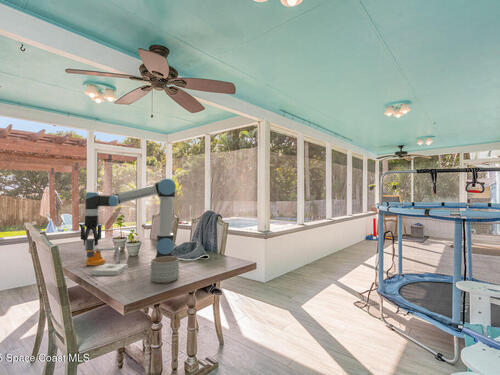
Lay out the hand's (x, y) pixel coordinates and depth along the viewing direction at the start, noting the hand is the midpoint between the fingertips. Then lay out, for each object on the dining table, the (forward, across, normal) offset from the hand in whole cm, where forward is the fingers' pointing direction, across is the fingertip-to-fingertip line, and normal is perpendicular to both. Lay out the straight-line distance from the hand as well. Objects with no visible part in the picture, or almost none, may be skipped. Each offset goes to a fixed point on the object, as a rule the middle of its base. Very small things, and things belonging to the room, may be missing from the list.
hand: (90, 250), depth 176 cm
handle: (+15, -5, -12) cm, 20 cm away
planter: (+16, -53, +12) cm, 57 cm away
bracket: (+16, +9, -23) cm, 29 cm away
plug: (+4, 0, 0) cm, 4 cm away
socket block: (+16, -11, -5) cm, 20 cm away
